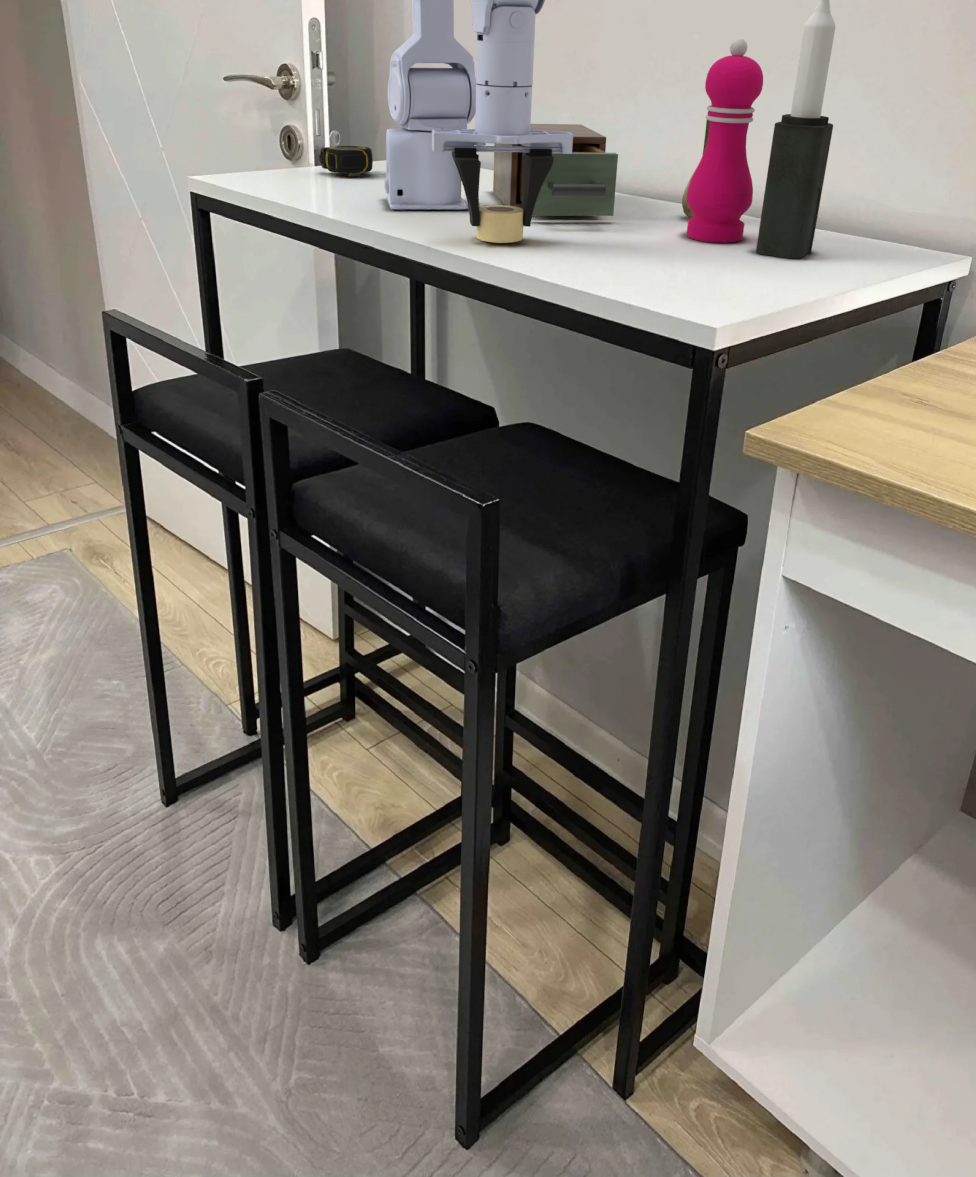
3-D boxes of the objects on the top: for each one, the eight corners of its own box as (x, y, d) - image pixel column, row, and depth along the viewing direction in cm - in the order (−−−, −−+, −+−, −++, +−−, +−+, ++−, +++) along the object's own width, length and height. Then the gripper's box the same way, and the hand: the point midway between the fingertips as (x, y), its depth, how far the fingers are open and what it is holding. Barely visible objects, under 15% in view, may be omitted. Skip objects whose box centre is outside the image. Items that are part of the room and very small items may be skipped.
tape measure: (364, 170, 156) (363, 143, 154) (379, 177, 151) (378, 149, 149) (319, 172, 154) (318, 144, 152) (333, 179, 148) (331, 150, 146)
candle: (799, 259, 110) (845, -16, 98) (752, 253, 113) (792, -17, 100) (814, 251, 114) (860, -14, 102) (768, 245, 117) (808, -16, 104)
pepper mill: (708, 246, 115) (734, 40, 106) (669, 233, 121) (690, 36, 111) (760, 241, 118) (790, 40, 109) (719, 229, 124) (744, 37, 114)
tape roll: (479, 243, 112) (480, 213, 110) (473, 233, 116) (474, 204, 115) (526, 243, 112) (527, 213, 111) (518, 233, 117) (519, 204, 115)
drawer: (622, 222, 121) (627, 159, 118) (533, 222, 120) (536, 158, 116) (588, 197, 135) (592, 140, 132) (508, 197, 134) (511, 139, 131)
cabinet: (600, 211, 132) (606, 137, 128) (509, 211, 131) (512, 135, 126) (577, 193, 144) (581, 124, 140) (492, 192, 142) (494, 123, 138)
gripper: (437, 86, 102) (436, 232, 109) (583, 89, 104) (573, 232, 111) (429, 81, 108) (429, 219, 115) (567, 83, 110) (559, 219, 117)
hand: (499, 224), depth 114 cm, fingers closed on tape roll, 5 cm apart
